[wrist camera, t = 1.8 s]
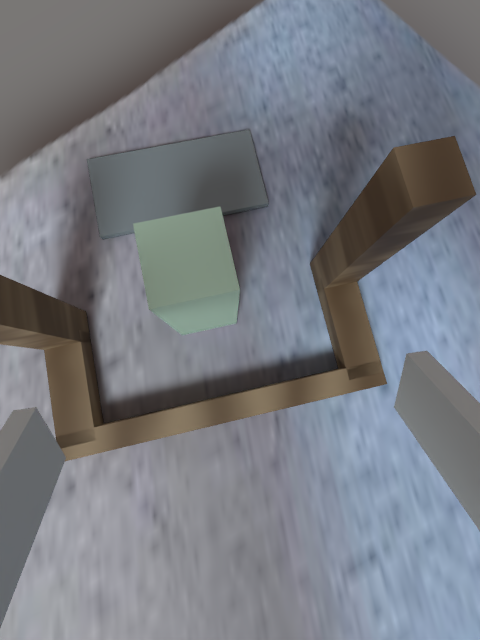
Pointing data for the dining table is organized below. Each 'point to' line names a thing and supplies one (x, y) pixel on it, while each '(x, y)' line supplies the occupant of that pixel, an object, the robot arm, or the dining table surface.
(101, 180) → the mat
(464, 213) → the dining table surface
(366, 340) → the frame
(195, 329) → the tall green square pillar
